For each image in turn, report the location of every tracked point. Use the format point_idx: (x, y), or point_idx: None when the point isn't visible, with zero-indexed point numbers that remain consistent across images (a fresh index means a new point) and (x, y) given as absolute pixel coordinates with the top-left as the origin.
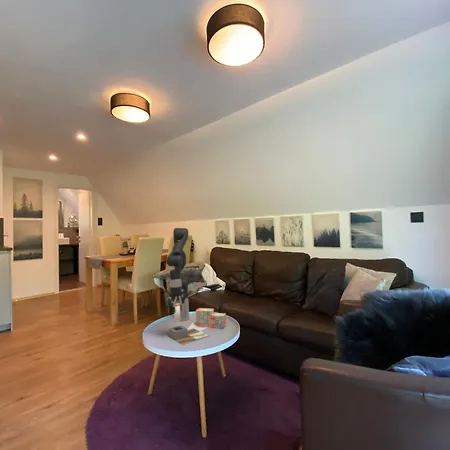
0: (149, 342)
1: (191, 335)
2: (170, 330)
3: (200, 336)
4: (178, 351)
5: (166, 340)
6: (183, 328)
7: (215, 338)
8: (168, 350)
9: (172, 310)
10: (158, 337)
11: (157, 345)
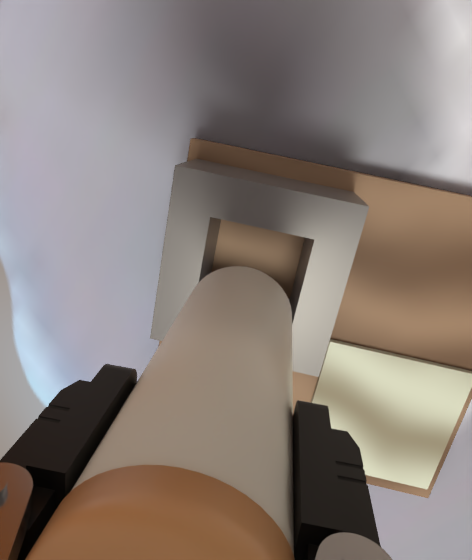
0: (5, 52)
1: (339, 365)
2: (170, 213)
3: (365, 452)
4: None
5: (153, 173)
6: (297, 330)
7: (445, 519)
8: (47, 361)
9: (61, 413)
10: (144, 7)
11: (30, 198)
